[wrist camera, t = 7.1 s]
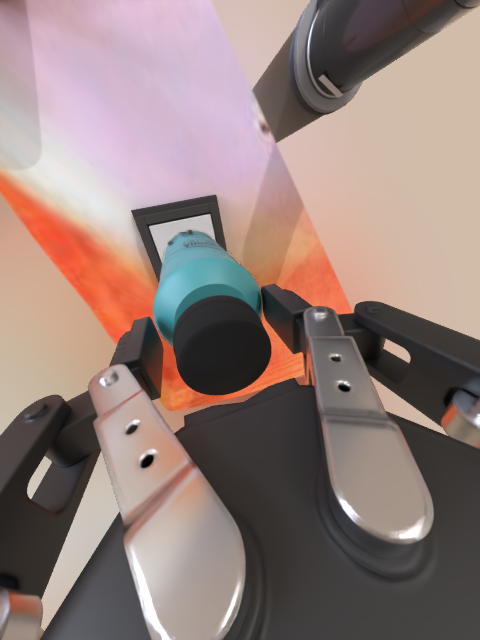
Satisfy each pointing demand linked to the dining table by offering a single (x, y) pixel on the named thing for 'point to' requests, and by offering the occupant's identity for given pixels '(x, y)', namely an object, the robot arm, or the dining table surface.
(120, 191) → the dining table surface
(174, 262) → the beverage bottle
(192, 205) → the scale
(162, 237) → the pan
